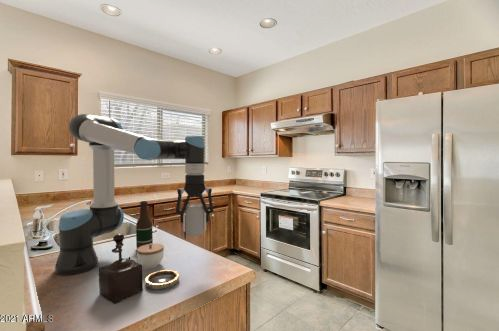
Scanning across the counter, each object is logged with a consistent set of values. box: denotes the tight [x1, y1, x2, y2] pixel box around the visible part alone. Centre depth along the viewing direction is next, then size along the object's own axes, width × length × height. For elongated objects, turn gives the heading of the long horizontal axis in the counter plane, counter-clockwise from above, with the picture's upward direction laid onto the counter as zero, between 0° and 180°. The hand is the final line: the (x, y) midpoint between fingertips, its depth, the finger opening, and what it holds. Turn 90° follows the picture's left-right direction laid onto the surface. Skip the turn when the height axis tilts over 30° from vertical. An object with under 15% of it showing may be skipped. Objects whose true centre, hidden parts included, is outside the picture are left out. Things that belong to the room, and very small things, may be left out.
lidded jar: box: [136, 243, 165, 269], centre depth 112 cm, size 11×11×9 cm
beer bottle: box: [135, 200, 154, 250], centre depth 131 cm, size 8×8×24 cm
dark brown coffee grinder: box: [97, 233, 144, 305], centre depth 91 cm, size 16×11×18 cm
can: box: [184, 203, 205, 237], centre depth 106 cm, size 8×8×12 cm
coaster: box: [145, 269, 180, 291], centre depth 97 cm, size 12×12×2 cm
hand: (194, 230), depth 106 cm, fingers closed on can, 7 cm apart
